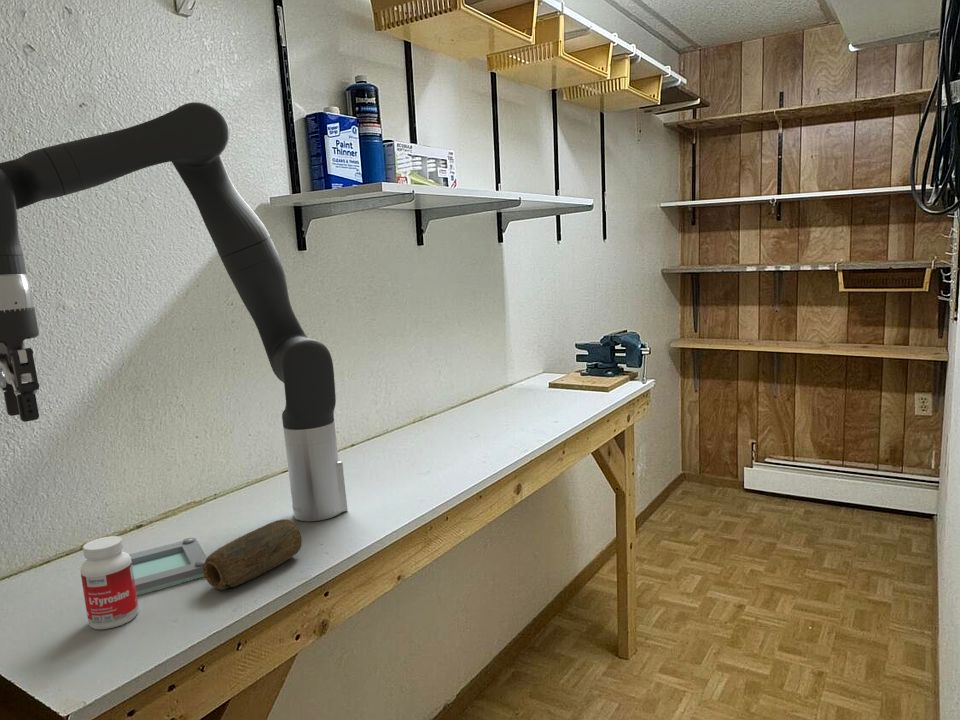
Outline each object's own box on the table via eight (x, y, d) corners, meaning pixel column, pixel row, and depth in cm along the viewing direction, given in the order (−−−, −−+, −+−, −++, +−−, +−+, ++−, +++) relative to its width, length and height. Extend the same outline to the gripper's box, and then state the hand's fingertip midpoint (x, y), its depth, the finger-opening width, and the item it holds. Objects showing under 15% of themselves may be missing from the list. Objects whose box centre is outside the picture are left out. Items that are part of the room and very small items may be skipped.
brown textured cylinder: (276, 551, 116) (271, 512, 115) (307, 557, 113) (303, 517, 112) (200, 591, 103) (194, 548, 102) (232, 599, 100) (226, 555, 99)
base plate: (196, 546, 121) (195, 535, 120) (212, 574, 109) (211, 562, 108) (104, 570, 113) (103, 558, 113) (111, 602, 102) (109, 589, 101)
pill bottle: (86, 635, 92) (73, 555, 91) (91, 615, 98) (78, 540, 96) (138, 622, 95) (126, 544, 93) (140, 604, 100) (128, 530, 99)
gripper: (45, 304, 99) (65, 417, 101) (22, 305, 109) (40, 407, 111) (-19, 310, 94) (3, 429, 96) (-37, 310, 104) (-17, 418, 106)
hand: (23, 417), depth 104 cm, fingers open, 8 cm apart
